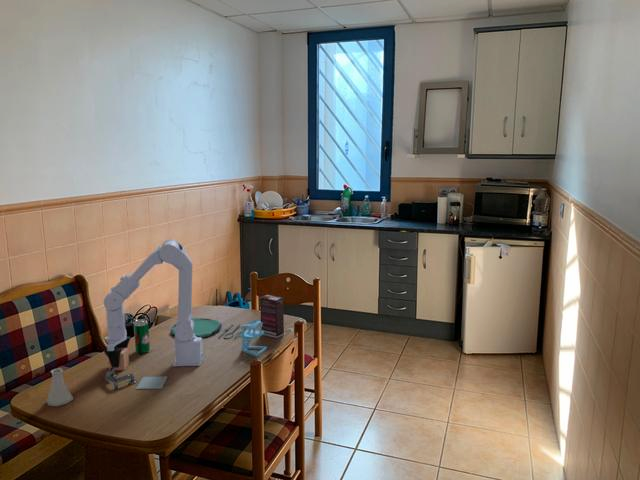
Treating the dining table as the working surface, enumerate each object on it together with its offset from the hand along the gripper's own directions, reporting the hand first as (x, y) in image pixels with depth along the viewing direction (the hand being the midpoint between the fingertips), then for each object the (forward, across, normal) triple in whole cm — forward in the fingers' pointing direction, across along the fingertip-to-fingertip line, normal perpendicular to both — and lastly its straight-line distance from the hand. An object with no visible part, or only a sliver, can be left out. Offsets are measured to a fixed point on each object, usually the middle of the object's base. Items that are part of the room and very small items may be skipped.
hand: (119, 362), depth 178 cm
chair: (+2, -11, +46) cm, 47 cm away
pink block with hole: (+2, 0, 0) cm, 2 cm away
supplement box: (+2, -27, +52) cm, 59 cm away
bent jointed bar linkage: (+2, +12, +4) cm, 13 cm away
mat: (+2, +13, +14) cm, 20 cm away
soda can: (+2, -13, +4) cm, 14 cm away
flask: (+2, +23, -10) cm, 25 cm away
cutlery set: (+2, -33, +26) cm, 42 cm away
